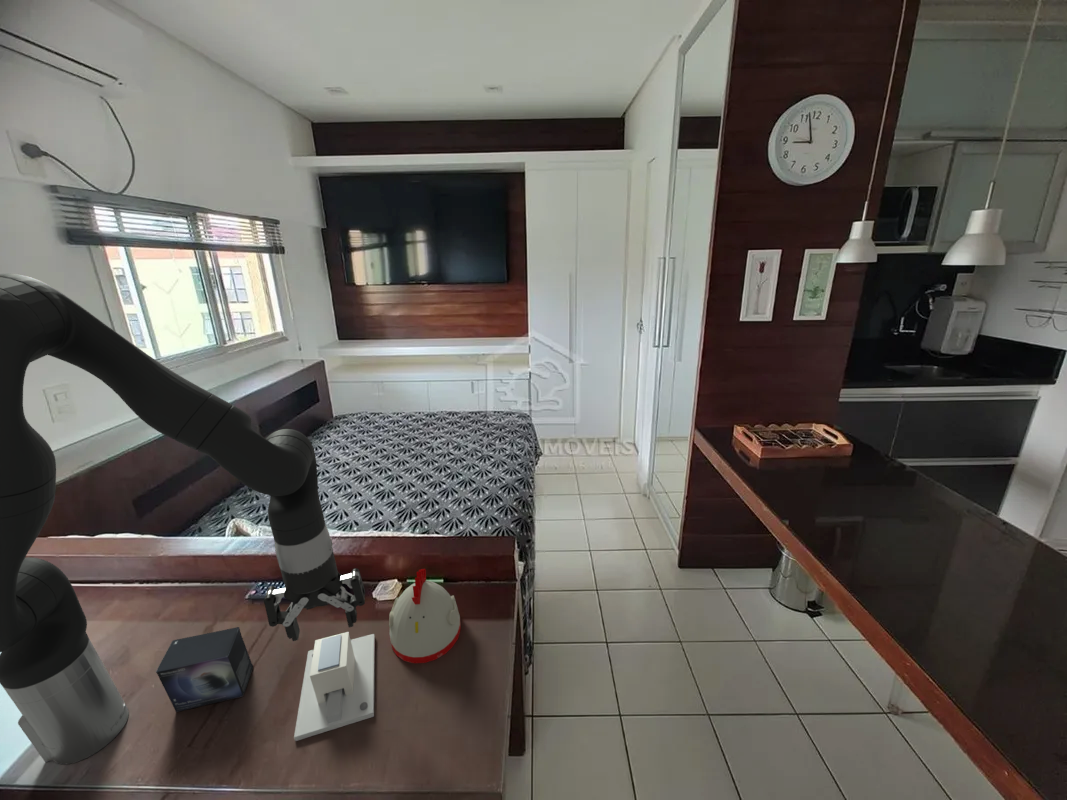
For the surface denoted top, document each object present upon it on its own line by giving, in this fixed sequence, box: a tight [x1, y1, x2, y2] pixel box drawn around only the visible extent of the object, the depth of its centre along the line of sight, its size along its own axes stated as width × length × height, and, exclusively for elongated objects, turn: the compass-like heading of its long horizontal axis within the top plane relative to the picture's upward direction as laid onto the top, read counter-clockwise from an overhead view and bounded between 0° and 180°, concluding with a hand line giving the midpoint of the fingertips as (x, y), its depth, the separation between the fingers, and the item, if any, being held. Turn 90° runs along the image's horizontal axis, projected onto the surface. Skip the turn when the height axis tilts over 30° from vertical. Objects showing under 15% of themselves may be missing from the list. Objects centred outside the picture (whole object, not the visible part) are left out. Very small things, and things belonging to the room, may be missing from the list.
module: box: [310, 631, 355, 704], centre depth 77 cm, size 6×7×7 cm
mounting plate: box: [293, 633, 376, 742], centre depth 79 cm, size 12×16×3 cm
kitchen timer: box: [388, 568, 462, 664], centre depth 86 cm, size 14×14×15 cm
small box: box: [155, 626, 254, 713], centre depth 76 cm, size 11×6×10 cm, turn 105°
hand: (324, 629), depth 74 cm, fingers open, 8 cm apart
